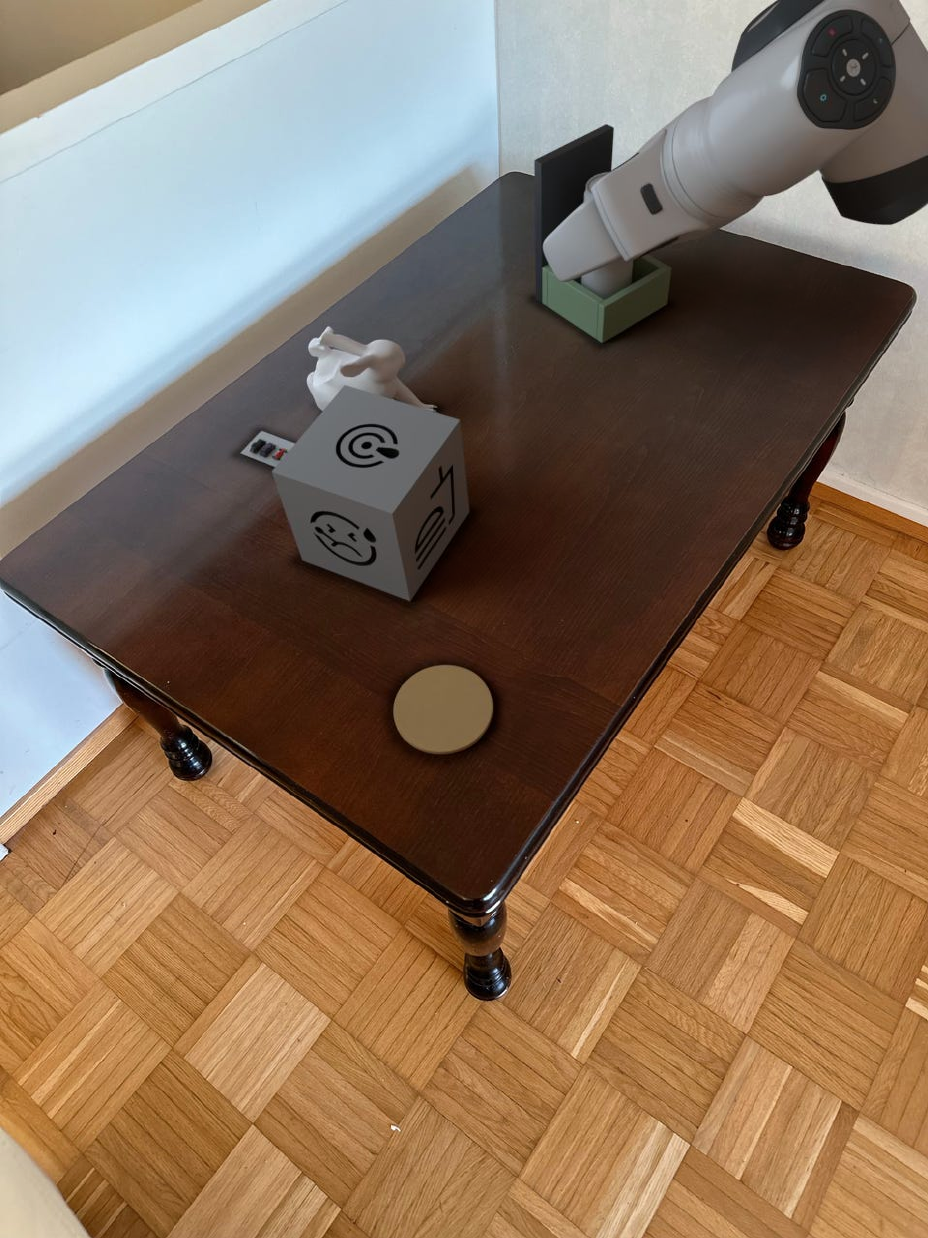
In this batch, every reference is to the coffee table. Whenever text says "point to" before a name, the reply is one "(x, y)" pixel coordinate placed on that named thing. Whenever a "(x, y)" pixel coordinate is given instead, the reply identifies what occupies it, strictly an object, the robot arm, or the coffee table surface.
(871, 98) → the robot arm
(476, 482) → the coffee table surface
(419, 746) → the coaster
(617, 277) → the beverage can
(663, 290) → the stand
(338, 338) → the rabbit figurine
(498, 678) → the coffee table surface
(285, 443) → the toy car tray
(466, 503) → the icon cube
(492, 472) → the coffee table surface
